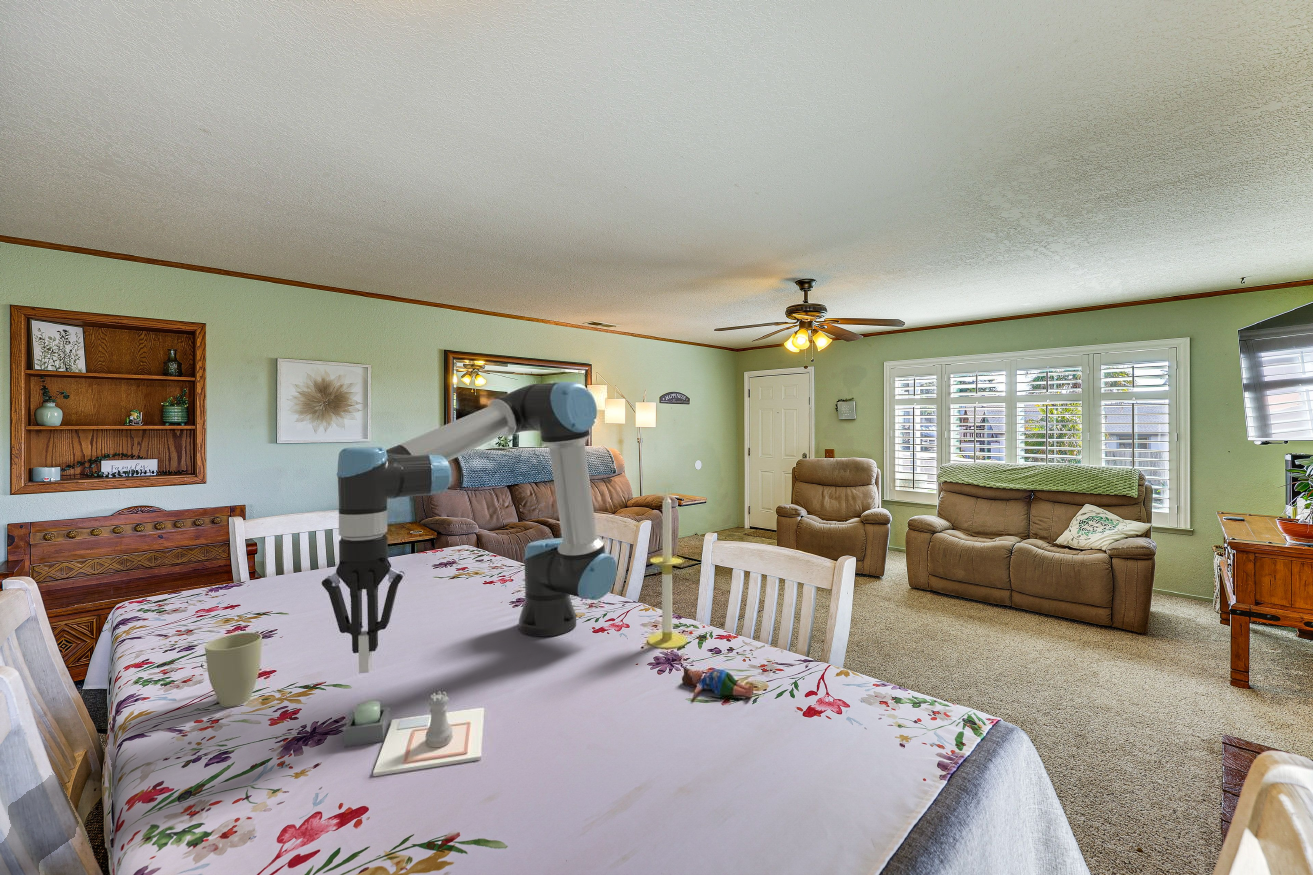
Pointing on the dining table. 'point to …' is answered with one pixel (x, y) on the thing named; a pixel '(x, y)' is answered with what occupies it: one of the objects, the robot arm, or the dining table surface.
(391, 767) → the cream square board
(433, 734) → the rook chess piece
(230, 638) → the mug
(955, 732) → the dining table surface
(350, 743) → the button housing
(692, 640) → the dining table surface
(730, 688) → the toy character
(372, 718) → the button
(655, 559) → the paper towel holder
